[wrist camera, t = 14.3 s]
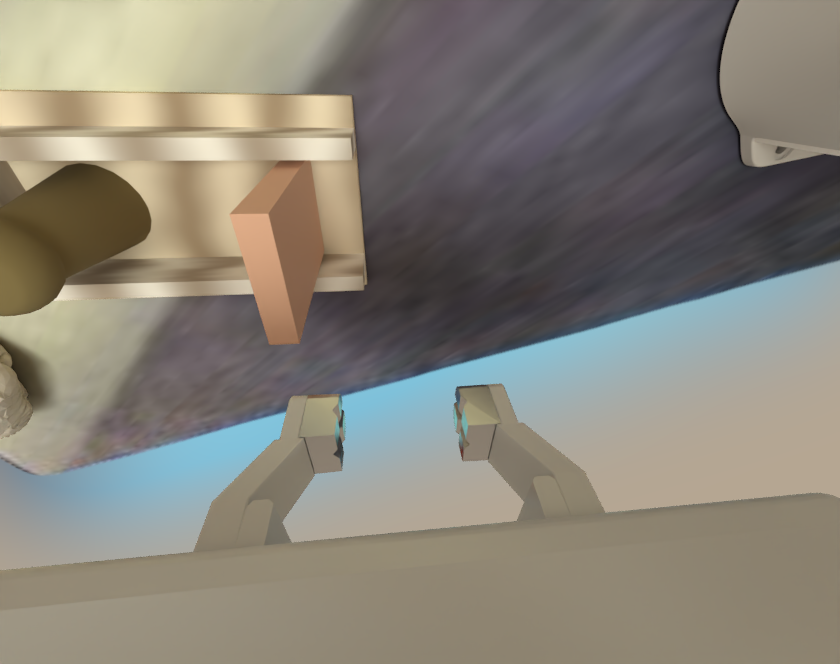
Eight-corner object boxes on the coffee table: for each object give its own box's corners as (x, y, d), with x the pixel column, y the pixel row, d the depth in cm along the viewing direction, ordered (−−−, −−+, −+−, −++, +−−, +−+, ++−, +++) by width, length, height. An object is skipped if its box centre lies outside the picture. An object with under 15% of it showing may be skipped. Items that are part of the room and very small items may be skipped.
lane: (352, 94, 24) (347, 102, 20) (367, 279, 32) (365, 309, 28) (-45, 89, 22) (-138, 95, 18) (82, 287, 30) (38, 322, 26)
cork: (41, 150, 23) (-158, 204, 15) (147, 179, 25) (24, 243, 16) (62, 235, 27) (-89, 320, 18) (155, 255, 28) (57, 343, 20)
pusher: (309, 154, 25) (268, 213, 15) (324, 250, 29) (299, 343, 20) (285, 154, 25) (229, 214, 15) (304, 251, 29) (269, 344, 20)
